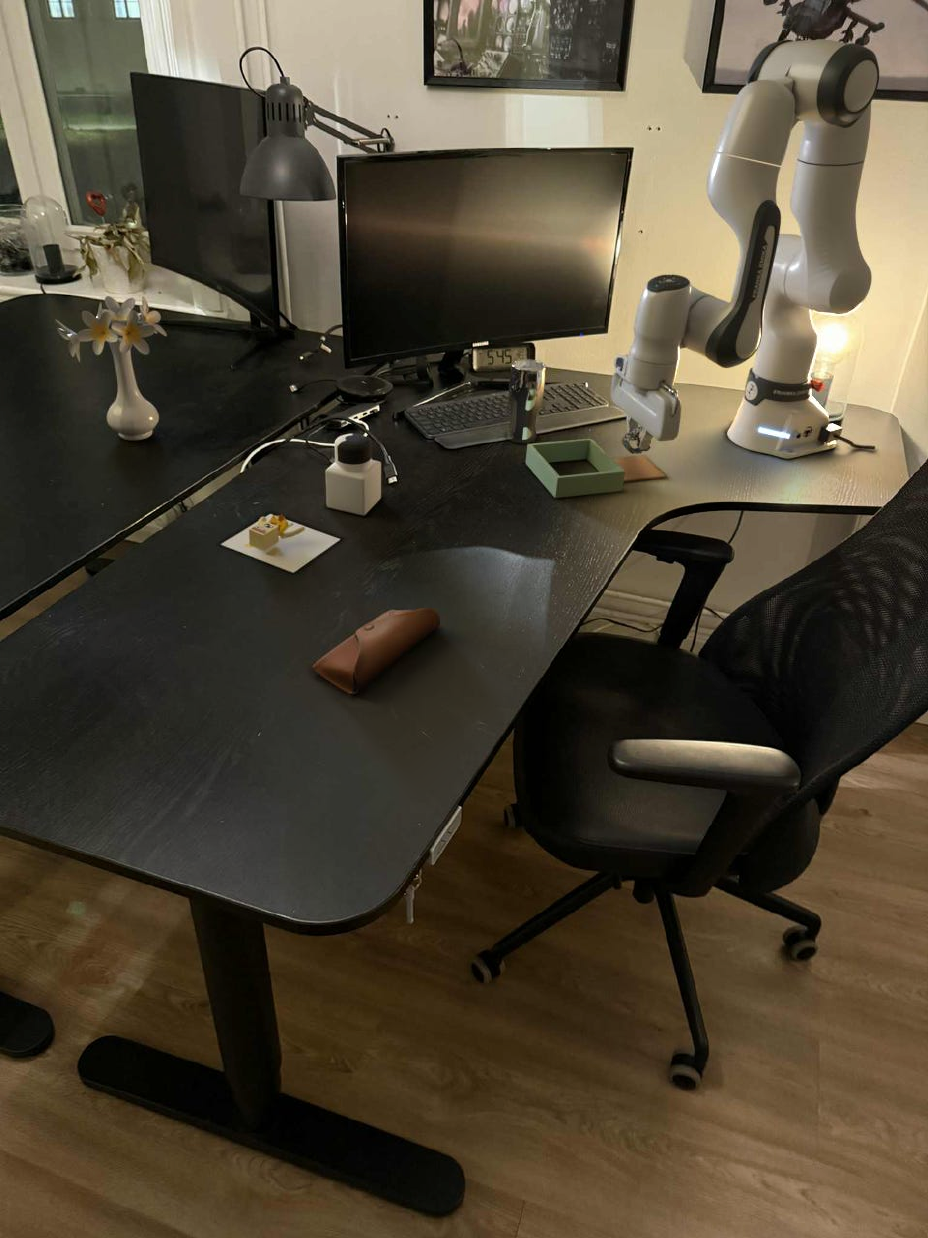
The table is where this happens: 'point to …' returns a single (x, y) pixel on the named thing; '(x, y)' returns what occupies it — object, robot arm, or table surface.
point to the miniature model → (281, 542)
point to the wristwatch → (626, 440)
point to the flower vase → (121, 360)
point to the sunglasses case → (375, 647)
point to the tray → (576, 484)
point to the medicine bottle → (353, 476)
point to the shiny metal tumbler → (525, 399)
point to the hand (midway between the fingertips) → (637, 443)
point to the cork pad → (638, 468)
